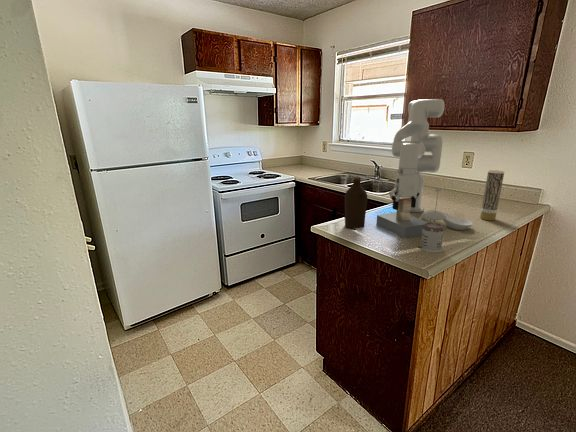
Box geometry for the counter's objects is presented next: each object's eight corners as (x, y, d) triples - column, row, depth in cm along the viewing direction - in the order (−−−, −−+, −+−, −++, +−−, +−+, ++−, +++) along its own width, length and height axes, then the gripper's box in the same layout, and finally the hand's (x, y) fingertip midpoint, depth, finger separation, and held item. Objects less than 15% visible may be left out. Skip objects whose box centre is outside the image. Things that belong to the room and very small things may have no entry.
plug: (395, 220, 147) (397, 197, 144) (403, 219, 148) (405, 197, 145) (401, 223, 143) (404, 200, 140) (409, 222, 144) (411, 199, 141)
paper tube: (482, 216, 167) (490, 169, 159) (496, 218, 162) (505, 171, 155) (478, 219, 162) (486, 171, 155) (493, 221, 158) (502, 172, 150)
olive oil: (369, 226, 154) (373, 176, 146) (357, 232, 147) (360, 179, 139) (351, 222, 161) (354, 174, 154) (339, 226, 154) (341, 177, 147)
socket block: (376, 226, 154) (377, 215, 152) (399, 222, 158) (400, 211, 157) (404, 240, 136) (405, 227, 134) (429, 235, 140) (430, 223, 139)
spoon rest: (471, 226, 152) (474, 212, 150) (471, 234, 143) (473, 219, 140) (420, 219, 164) (421, 206, 162) (416, 226, 154) (418, 212, 152)
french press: (418, 250, 125) (425, 190, 118) (417, 240, 135) (424, 184, 128) (445, 253, 122) (454, 191, 114) (442, 243, 132) (450, 185, 125)
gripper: (397, 174, 132) (393, 212, 137) (428, 171, 138) (424, 208, 143) (386, 171, 139) (383, 208, 144) (416, 168, 145) (412, 204, 150)
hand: (403, 208), depth 144 cm, fingers open, 9 cm apart
